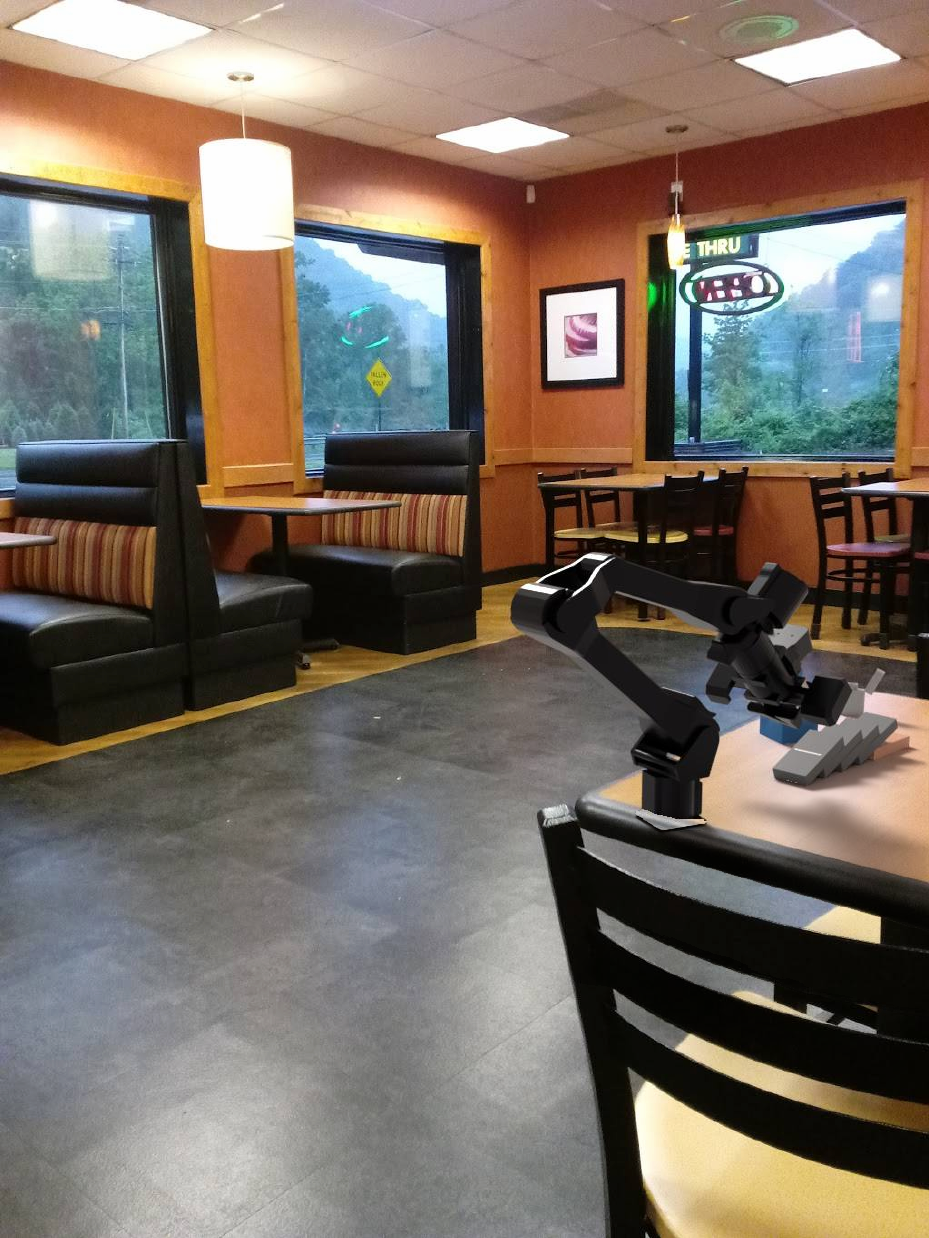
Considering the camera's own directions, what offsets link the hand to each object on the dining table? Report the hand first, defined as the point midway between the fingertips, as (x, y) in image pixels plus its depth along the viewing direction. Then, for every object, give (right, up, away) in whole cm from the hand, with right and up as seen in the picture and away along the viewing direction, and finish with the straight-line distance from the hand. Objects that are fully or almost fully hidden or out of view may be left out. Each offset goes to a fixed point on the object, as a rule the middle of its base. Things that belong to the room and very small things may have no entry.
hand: (798, 725), depth 142 cm
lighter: (+21, -2, +34) cm, 40 cm away
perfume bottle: (+5, -4, +22) cm, 23 cm away
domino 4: (+9, -5, +9) cm, 14 cm away
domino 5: (+12, -5, +12) cm, 18 cm away
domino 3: (+6, -6, +6) cm, 10 cm away
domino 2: (+2, -6, +3) cm, 8 cm away
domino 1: (-1, -7, 0) cm, 7 cm away
